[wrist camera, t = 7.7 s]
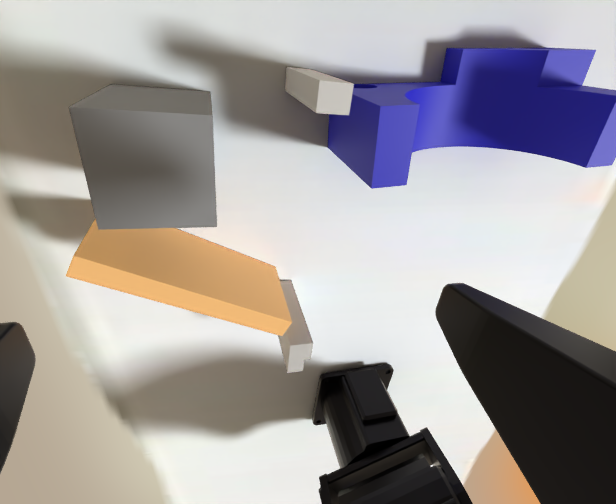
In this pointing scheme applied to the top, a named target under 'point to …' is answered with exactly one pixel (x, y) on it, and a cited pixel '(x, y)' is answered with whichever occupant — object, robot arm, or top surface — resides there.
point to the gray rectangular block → (148, 156)
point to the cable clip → (480, 112)
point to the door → (184, 274)
